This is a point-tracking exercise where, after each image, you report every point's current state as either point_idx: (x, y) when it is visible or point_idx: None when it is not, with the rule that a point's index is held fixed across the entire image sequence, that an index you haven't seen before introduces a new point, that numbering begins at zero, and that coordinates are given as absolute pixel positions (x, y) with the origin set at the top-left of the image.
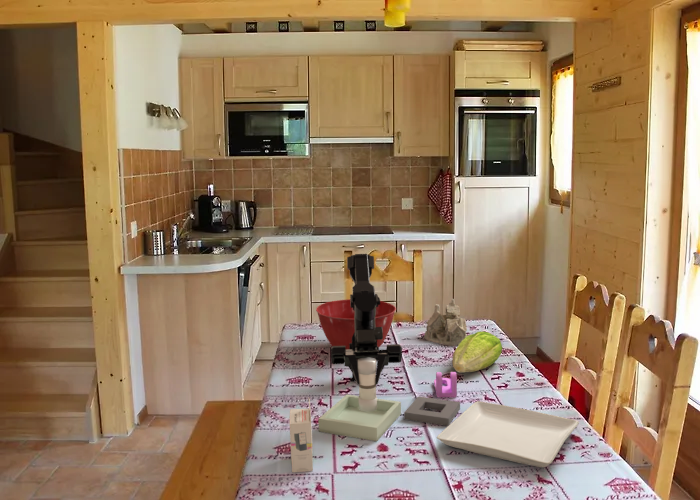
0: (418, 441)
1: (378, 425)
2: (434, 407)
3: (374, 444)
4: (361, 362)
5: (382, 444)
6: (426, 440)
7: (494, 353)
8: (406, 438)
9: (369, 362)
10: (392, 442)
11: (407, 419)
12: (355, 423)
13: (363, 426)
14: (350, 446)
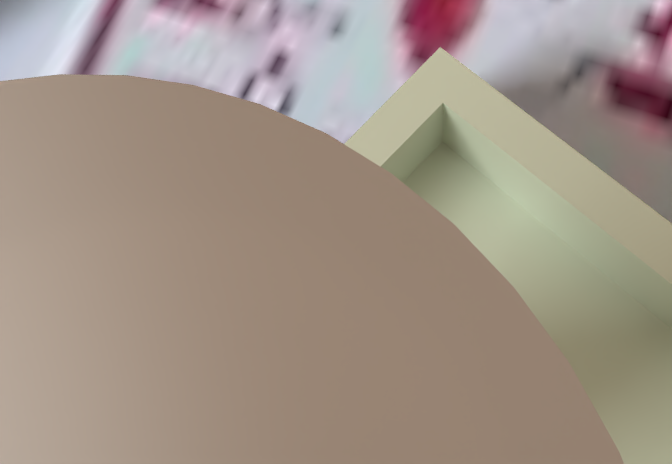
0: (181, 19)
1: (407, 88)
2: None
3: (476, 68)
4: (520, 406)
5: (421, 50)
6: (130, 17)
7: None
8: (228, 82)
9: (45, 199)
10: (343, 57)
11: None
12: (601, 200)
13: (540, 127)
14: (665, 93)
